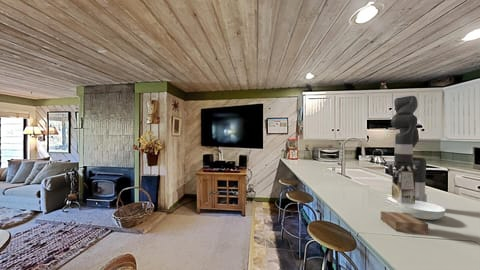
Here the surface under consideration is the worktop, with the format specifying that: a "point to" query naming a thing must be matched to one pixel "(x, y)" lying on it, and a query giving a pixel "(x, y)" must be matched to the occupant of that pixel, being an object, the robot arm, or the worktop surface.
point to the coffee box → (404, 187)
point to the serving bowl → (423, 210)
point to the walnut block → (404, 222)
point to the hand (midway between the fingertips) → (403, 184)
